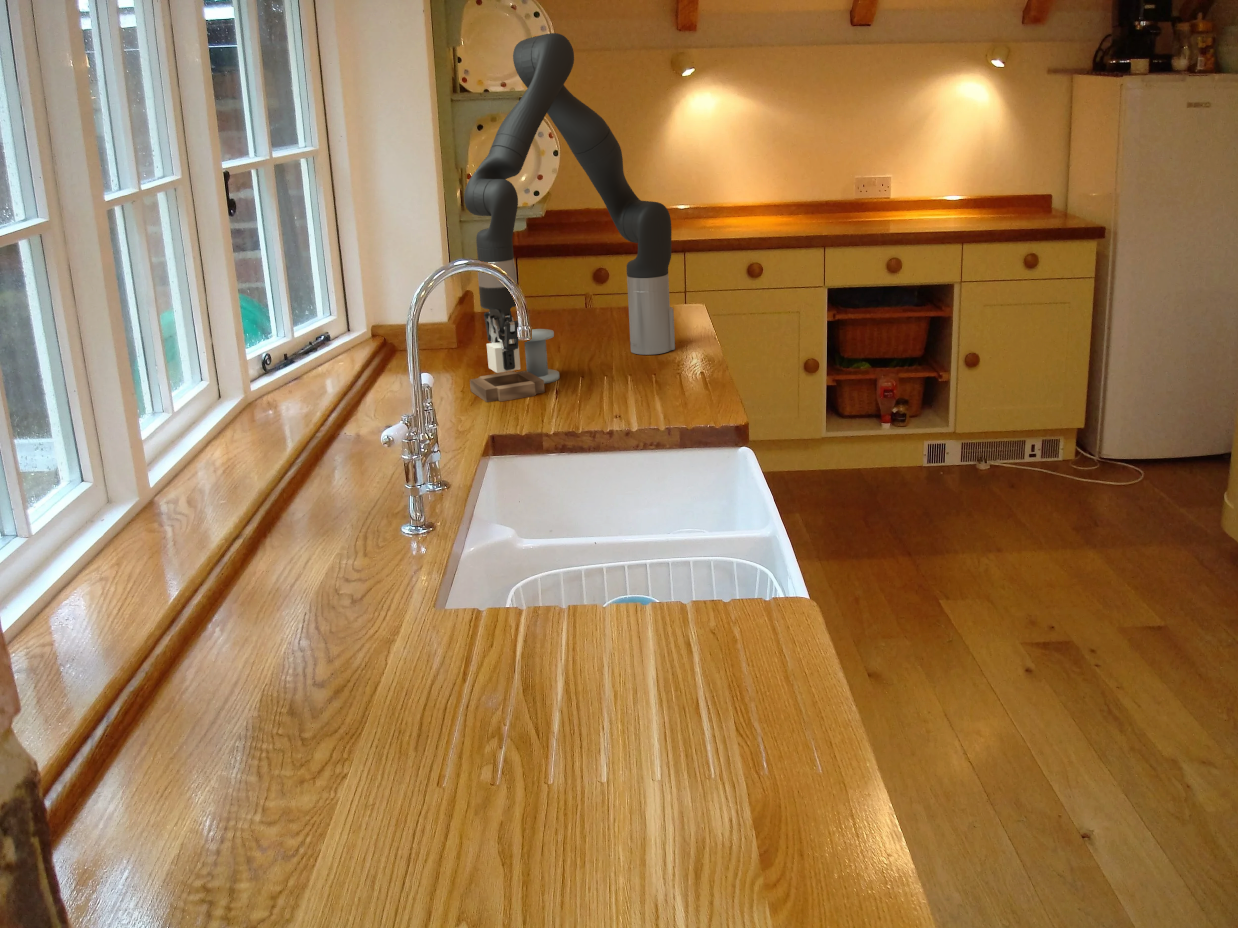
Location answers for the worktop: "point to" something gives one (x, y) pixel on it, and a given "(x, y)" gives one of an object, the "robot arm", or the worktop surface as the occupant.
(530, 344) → the bobbin
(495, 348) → the block
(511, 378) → the tray
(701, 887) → the worktop surface
